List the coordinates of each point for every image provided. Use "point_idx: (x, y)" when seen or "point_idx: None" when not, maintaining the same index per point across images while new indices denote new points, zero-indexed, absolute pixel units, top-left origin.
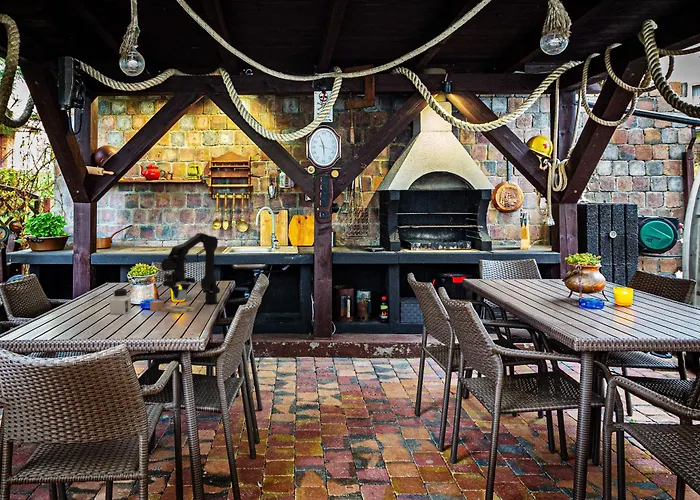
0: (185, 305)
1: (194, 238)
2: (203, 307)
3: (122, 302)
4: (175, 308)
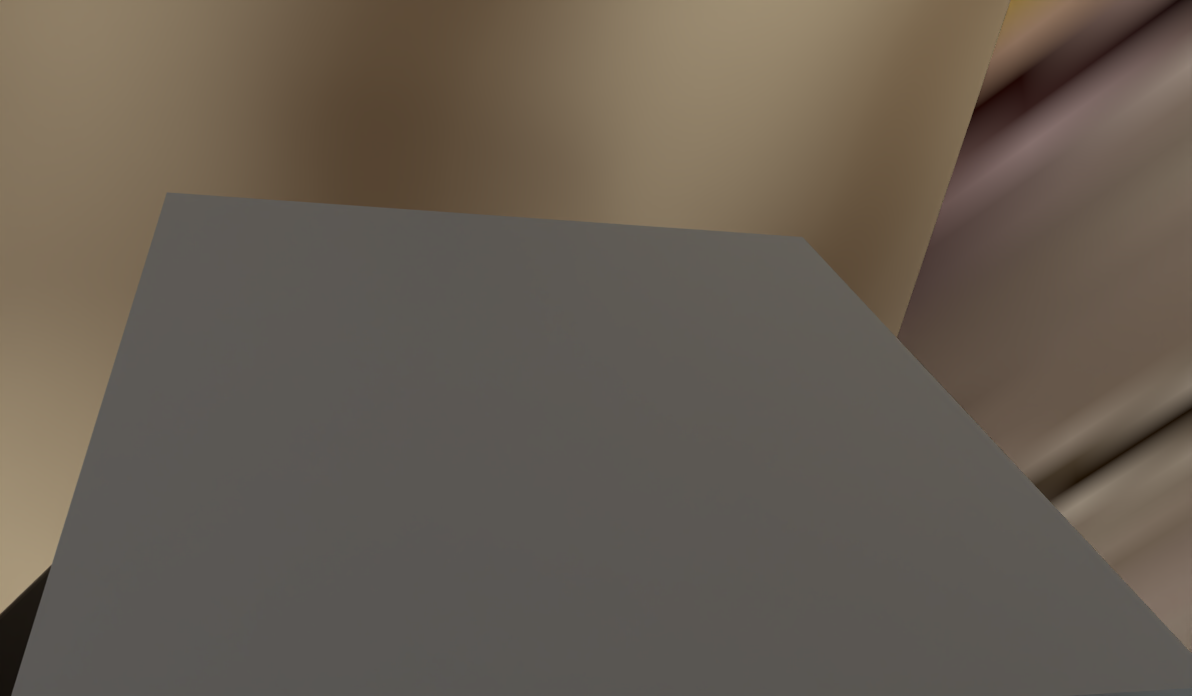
0: (904, 150)
1: None
2: (1062, 509)
3: None
4: (147, 238)
